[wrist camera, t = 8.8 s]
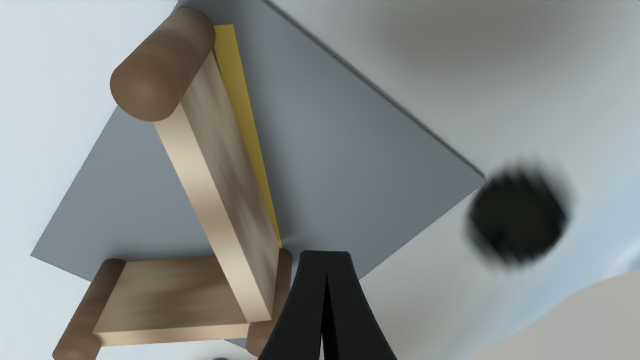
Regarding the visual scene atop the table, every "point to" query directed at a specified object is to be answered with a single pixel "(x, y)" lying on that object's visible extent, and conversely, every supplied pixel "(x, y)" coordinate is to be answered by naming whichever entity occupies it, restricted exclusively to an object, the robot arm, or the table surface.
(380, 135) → the board
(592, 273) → the table surface
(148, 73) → the wooden plank
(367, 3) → the table surface
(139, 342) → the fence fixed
